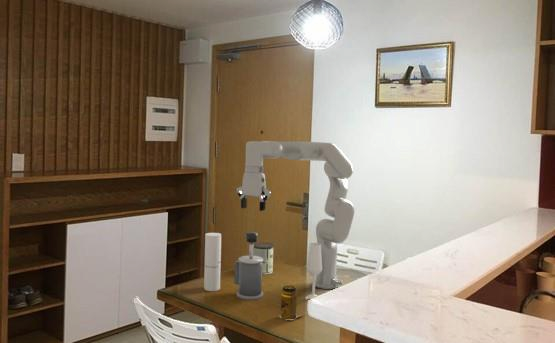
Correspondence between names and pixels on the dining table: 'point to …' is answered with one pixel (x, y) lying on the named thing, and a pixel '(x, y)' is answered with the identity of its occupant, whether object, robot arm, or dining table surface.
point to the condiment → (288, 302)
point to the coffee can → (265, 256)
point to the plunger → (251, 241)
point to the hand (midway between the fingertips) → (252, 209)
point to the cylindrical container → (212, 261)
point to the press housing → (249, 277)
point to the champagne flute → (314, 264)
